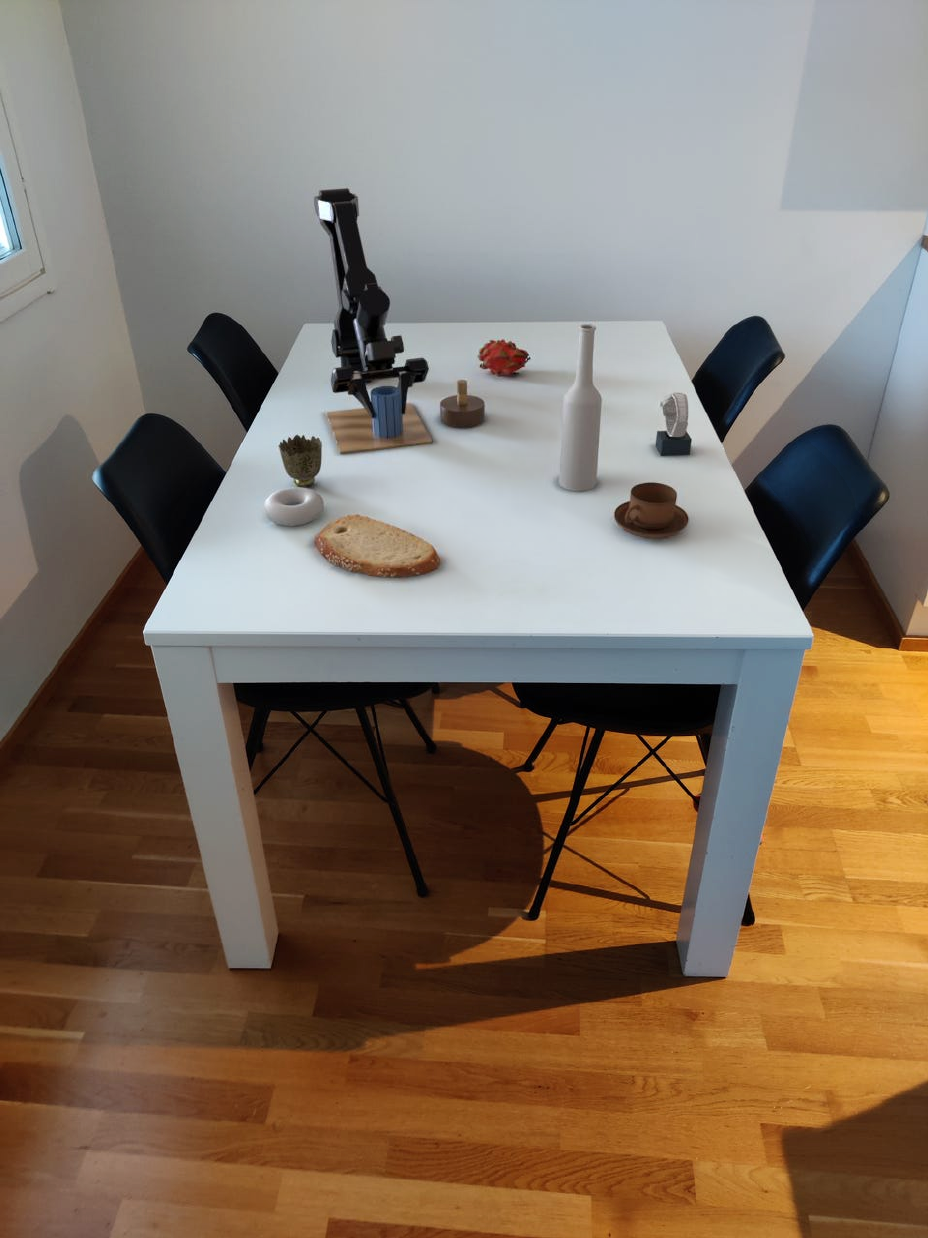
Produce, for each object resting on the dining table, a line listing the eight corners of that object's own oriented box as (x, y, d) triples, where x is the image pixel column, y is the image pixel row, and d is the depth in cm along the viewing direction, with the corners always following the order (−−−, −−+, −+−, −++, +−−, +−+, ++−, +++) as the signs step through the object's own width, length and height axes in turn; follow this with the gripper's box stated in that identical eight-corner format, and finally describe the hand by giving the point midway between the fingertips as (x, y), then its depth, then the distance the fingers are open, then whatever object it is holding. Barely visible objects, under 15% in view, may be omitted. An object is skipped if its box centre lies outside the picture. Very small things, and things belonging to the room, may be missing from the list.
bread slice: (446, 571, 144) (445, 550, 142) (329, 591, 140) (327, 569, 138) (417, 517, 158) (416, 497, 156) (310, 534, 154) (308, 513, 152)
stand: (436, 413, 195) (434, 375, 190) (477, 408, 197) (477, 371, 192) (446, 430, 188) (445, 391, 183) (489, 425, 189) (489, 387, 185)
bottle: (603, 482, 168) (616, 325, 152) (581, 495, 164) (591, 335, 148) (574, 471, 172) (583, 317, 156) (551, 483, 168) (558, 326, 152)
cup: (332, 478, 171) (328, 437, 166) (314, 496, 165) (309, 454, 160) (296, 472, 173) (291, 432, 168) (276, 490, 167) (270, 448, 162)
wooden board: (326, 414, 195) (325, 412, 195) (411, 404, 199) (411, 402, 198) (340, 453, 179) (340, 451, 179) (432, 442, 183) (432, 440, 183)
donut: (317, 531, 155) (330, 501, 163) (315, 512, 153) (328, 484, 161) (258, 529, 156) (274, 499, 164) (255, 510, 154) (271, 482, 162)
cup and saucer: (670, 551, 148) (675, 517, 144) (601, 532, 153) (603, 498, 150) (698, 519, 156) (702, 486, 153) (631, 502, 162) (634, 469, 158)
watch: (681, 440, 182) (688, 386, 176) (692, 458, 176) (699, 402, 169) (652, 441, 182) (658, 387, 176) (662, 459, 175) (669, 403, 169)
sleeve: (378, 425, 189) (376, 384, 184) (406, 427, 188) (404, 386, 183) (369, 436, 184) (366, 395, 180) (398, 439, 183) (395, 397, 178)
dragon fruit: (473, 379, 215) (525, 386, 215) (476, 368, 206) (530, 376, 207) (477, 342, 215) (529, 349, 216) (481, 330, 206) (534, 338, 207)
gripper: (327, 326, 175) (344, 404, 173) (424, 315, 180) (442, 391, 177) (324, 354, 186) (340, 428, 183) (415, 344, 190) (432, 415, 188)
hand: (388, 415), depth 183 cm, fingers closed on sleeve, 6 cm apart
